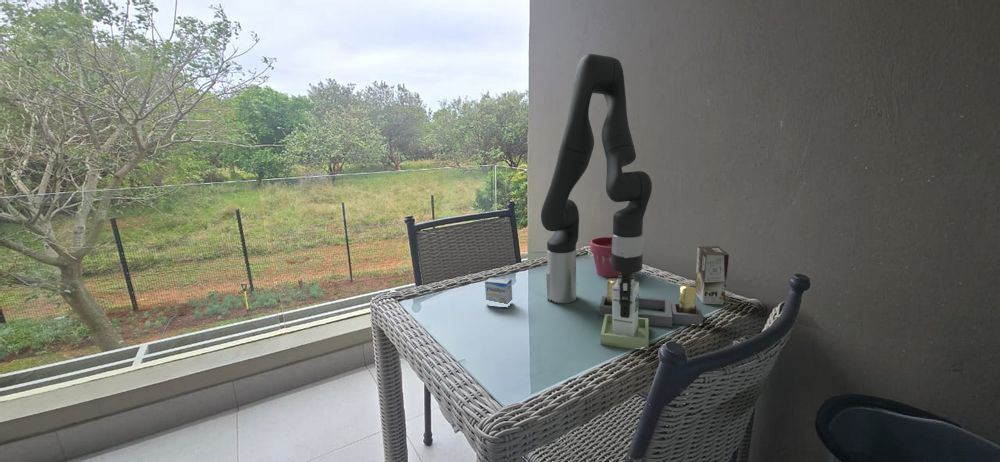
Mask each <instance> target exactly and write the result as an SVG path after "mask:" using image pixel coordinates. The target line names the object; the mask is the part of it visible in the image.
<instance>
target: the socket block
mask: <svg viewBox="0 0 1000 462" xmlns="http://www.w3.org/2000/svg"><path fill="white" fill-rule="evenodd" d="M639 308H644V309H653V310H663V311H664V313H659V312H657V313H656V312H648V311H639V310H638V317H640V318H648V326H649V325H650V326H651V325H652V326H658V327H659V326H660V327H668V328H673V324H676V325H684V326H691V325H690V324H697V323H702V324H703V320H704V317H703V316H704V315H703V312H702V309H701V305H700V304H696V303H695V308H694V314H687V313H679V302H674V301H672V302H671V299H670V298H663V297H649V296H640V295H639ZM605 314H611V315H612V306H607V295H606V296H605V295H603V296H601V301H600V305H599V316H601V317H602V316H603V317H604V316H605Z"/></svg>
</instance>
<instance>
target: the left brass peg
mask: <svg viewBox="0 0 1000 462" xmlns="http://www.w3.org/2000/svg"><path fill="white" fill-rule="evenodd" d="M617 279H618V278H616V277H611V278H608V279H607V280H606V296H607V306H612V287H613V285H614V284H615V282H616V281H617Z"/></svg>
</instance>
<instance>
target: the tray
mask: <svg viewBox="0 0 1000 462" xmlns="http://www.w3.org/2000/svg"><path fill="white" fill-rule="evenodd" d="M603 317H604V318H603V322H602V325H601V326H602V328H601V331H600V346H601V345H602V346H610V347H618V348H623V349H624V348H625V349H632V350H636V349H635V348H641V347H648V348H649V342H650V340H649V336H650V335H649V330H650V329H649V324H648V318H640V317H638V332H637V334H636V337H632V336H624V335H616V334H612V315H611V314H605V316H603Z"/></svg>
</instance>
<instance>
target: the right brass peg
mask: <svg viewBox="0 0 1000 462" xmlns="http://www.w3.org/2000/svg"><path fill="white" fill-rule="evenodd" d="M696 296H697V295H696V286H695V284H692V283H681V284H680V286H679V298H678V303H679V313H687V314H694V308H695V304H696Z"/></svg>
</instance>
